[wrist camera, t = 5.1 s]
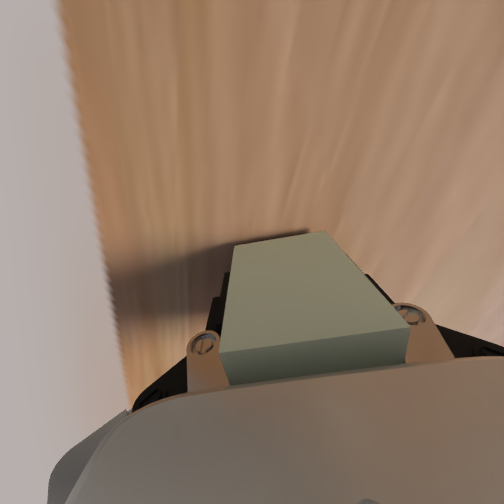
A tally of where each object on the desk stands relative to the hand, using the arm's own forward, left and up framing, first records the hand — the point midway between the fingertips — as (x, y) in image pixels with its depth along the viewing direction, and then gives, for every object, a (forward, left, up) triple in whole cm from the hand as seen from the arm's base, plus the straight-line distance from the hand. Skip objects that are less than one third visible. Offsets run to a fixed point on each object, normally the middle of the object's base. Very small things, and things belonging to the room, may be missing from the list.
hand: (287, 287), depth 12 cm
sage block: (0, 0, -1) cm, 1 cm away
